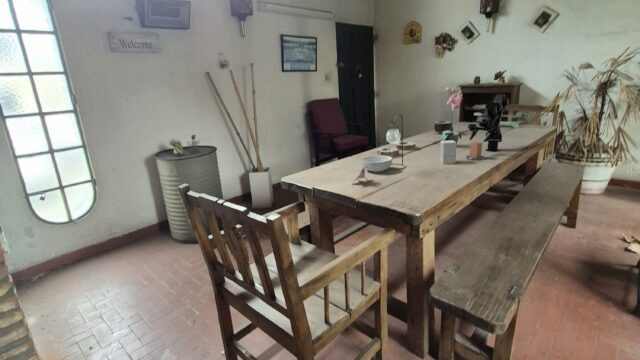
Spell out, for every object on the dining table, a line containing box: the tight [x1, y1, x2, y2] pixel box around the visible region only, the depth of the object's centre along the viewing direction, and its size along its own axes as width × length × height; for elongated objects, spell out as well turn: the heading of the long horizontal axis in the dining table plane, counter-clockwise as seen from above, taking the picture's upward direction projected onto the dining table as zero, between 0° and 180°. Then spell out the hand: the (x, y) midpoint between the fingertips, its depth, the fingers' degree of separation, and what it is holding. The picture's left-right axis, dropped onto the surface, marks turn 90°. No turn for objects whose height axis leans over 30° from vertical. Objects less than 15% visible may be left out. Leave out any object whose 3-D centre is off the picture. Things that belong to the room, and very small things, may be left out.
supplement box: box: [439, 139, 457, 165], centre depth 198 cm, size 7×7×13 cm
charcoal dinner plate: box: [465, 154, 485, 161], centre depth 204 cm, size 10×10×1 cm
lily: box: [352, 166, 370, 184], centre depth 171 cm, size 12×12×10 cm
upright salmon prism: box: [469, 141, 483, 158], centre depth 203 cm, size 4×4×8 cm
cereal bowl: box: [361, 154, 393, 173], centre depth 191 cm, size 17×17×7 cm
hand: (476, 140), depth 201 cm, fingers open, 9 cm apart
